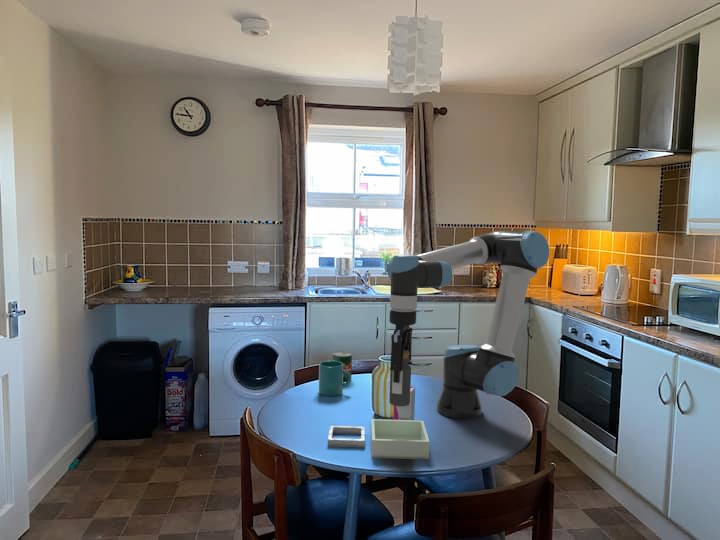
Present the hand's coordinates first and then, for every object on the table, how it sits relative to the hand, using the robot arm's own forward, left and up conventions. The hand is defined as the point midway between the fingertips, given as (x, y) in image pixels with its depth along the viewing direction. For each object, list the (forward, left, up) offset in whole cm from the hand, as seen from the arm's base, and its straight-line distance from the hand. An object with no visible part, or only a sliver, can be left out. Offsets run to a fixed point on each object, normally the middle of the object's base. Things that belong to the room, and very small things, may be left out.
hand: (400, 389), depth 151 cm
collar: (+15, -4, -17) cm, 23 cm away
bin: (0, 0, -17) cm, 17 cm away
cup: (+21, -47, -17) cm, 54 cm away
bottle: (0, 0, -4) cm, 4 cm away
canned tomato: (+19, -64, -17) cm, 69 cm away
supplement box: (-3, -19, -17) cm, 26 cm away
